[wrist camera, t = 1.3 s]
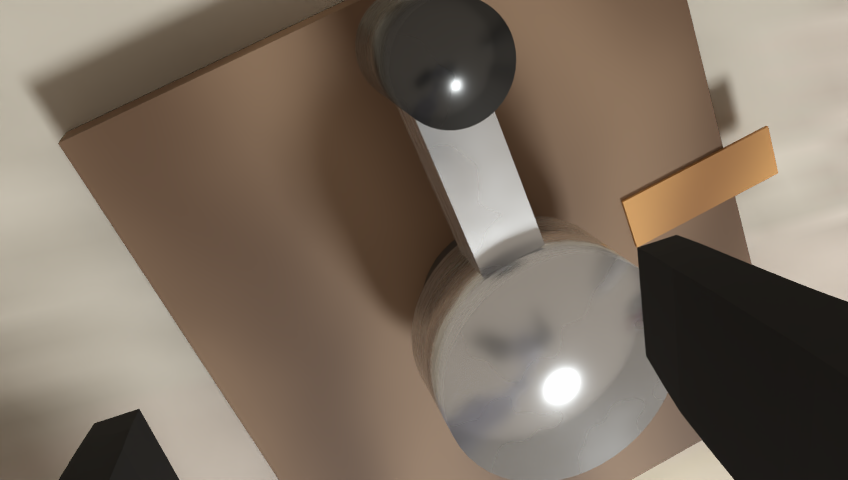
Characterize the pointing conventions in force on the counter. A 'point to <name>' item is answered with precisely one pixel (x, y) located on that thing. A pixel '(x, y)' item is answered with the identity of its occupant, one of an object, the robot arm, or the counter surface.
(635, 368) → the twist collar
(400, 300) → the lock base
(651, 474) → the counter surface
